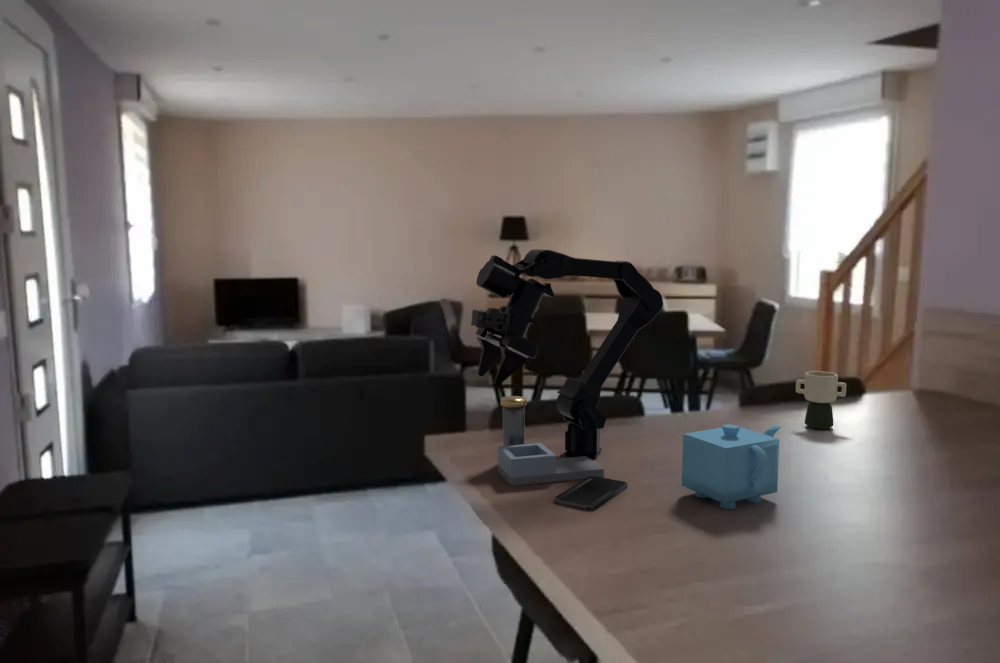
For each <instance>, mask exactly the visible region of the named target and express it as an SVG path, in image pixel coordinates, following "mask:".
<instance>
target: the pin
mask: <svg viewBox="0 0 1000 663" xmlns="http://www.w3.org/2000/svg"><path fill="white" fill-rule="evenodd" d="M527 404H528V401H527V397H525V396H519V395H508V396H507V395H506V396H503V397H500V406H501V407H502V446H511V445H523V444H525V443H526V442H525V440H526V438H525V437H526V436H525V435H526V434H525V433H526V429H525V427H526V426H525V423H526V422H525V418H526V417H525V415H526V414H525V413H526V412H525V409H526V406H527Z"/></svg>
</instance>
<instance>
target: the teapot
mask: <svg viewBox="0 0 1000 663" xmlns="http://www.w3.org/2000/svg"><path fill="white" fill-rule="evenodd" d="M781 428H782V427H781V426H779V425H775V426H770V427H768V428H767V429H766V430H765V431H764V433H761V432H758V431H754V430H750V429H749V428H748V429H747V428H744V427H741V426H738V425H735V424H728V423H727V424H723V425H722V426H721V427H719V428H716V427H715V428H711V429H705V430H698V431H692V432H688V433H687V432H686V433H684V434H682V454H681V455H682V459H681V460H682V461H681V463H682V464H681V486H682V487H684V488H686V489H689V490H691V491H694V492H695V493H694V496H695V497H698V498H702V499H703V498H704V499H705V498H709V499H712V500H713V501H716V502H718V503H720V505H719V507H721V508H722V509H725V510H734V509H736V508H737V507H736V502H740V501H742V500H743V501H744V500H747V501H748V502H750V503H753V504H754V503H756V504H759V503H763V502H764V500H763V498H762V496H766V495H771V494H774V493H777V492H778V484H779V483H778V480H779V463H780V462H779V457H780V439H779V438H777V437H775V434H777V432H778V431H779V430H780V429H781Z"/></svg>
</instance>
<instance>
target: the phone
mask: <svg viewBox="0 0 1000 663" xmlns="http://www.w3.org/2000/svg"><path fill="white" fill-rule="evenodd" d="M626 489H628V482H626V481H623V480H618V479H611V478H608V477H607V478H605V477H597V476H590V477H588V478H584V479H582V480H581V481H580V482H578V483H576V484H574V485H573V486H571V487H569V488H568V489H566V490H564V491H563V492H561V493H560V494H558V495H556V496H554V504H556V505H561V506H565V507H568V508H574V509H578V510H583V511H587V512H591V511H593V512H594V511H596V510H597V509H599V508H601V507H602V506H604V505H605V504H606V503H608V502H609V501H610V500H613V498H615V497H617V495H619V494H621V493H622V492H623V491H624V492H625V490H626Z"/></svg>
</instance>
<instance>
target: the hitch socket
mask: <svg viewBox="0 0 1000 663" xmlns="http://www.w3.org/2000/svg"><path fill="white" fill-rule="evenodd" d="M497 472H498V473H499V475H501V477H503V478H504V480H505V481H506V482H507V483H508V485H510V486H511V487H513V486H522V485H532V484H542V483H543V484H544V483H553V482H561V481H562V482H564V481H572V480H573V481H574V480H584V479H586V478H588V477H590V476H597V477H602V478H605V477H604V476H605V475H604V474H605V468H603V467H602V466H600V465H599V464H598V463H596V462H595V461H594V460H593V459H592V458H588V457H587V456H581V457H574V456H569V457H561V458H557V454H556V453H554V452H553V451H552V450H550V448H548V447H546V446H545V444H543V443H542V442H538V443H537V442H536V443H526V444H523V445H511V446H503V445H502V446H501V445H500V446H497Z"/></svg>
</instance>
